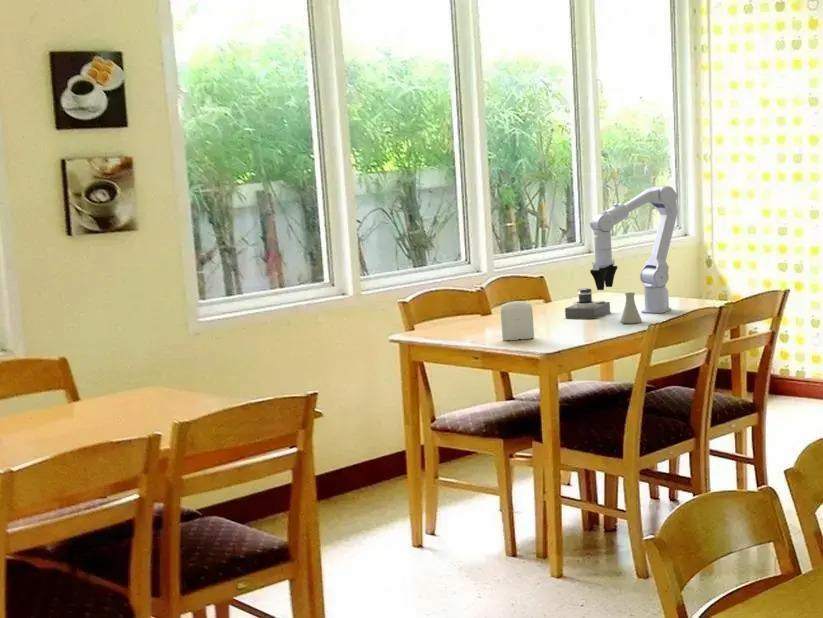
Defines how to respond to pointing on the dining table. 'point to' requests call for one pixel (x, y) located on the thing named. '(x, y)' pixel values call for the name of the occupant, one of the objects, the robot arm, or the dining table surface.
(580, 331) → the dining table surface
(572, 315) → the camera body
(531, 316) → the white rounded slab
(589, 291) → the lens
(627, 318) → the flask
